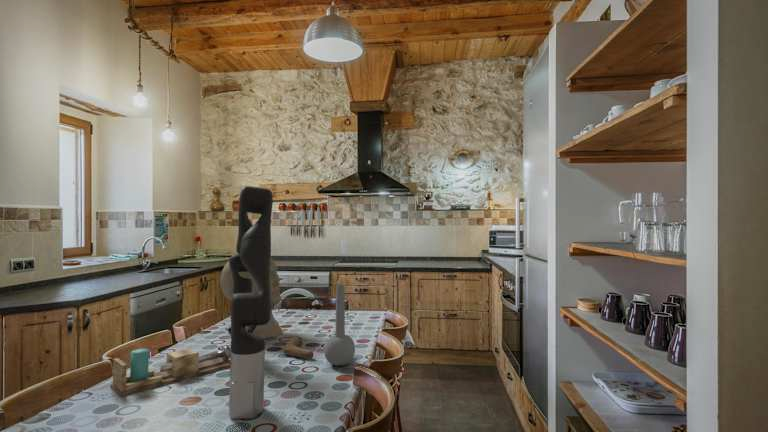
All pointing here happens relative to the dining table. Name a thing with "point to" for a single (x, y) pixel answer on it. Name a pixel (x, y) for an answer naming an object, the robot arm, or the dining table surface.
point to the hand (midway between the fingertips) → (241, 348)
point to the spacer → (139, 365)
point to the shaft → (204, 358)
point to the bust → (227, 288)
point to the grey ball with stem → (339, 335)
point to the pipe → (297, 349)
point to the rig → (182, 369)
